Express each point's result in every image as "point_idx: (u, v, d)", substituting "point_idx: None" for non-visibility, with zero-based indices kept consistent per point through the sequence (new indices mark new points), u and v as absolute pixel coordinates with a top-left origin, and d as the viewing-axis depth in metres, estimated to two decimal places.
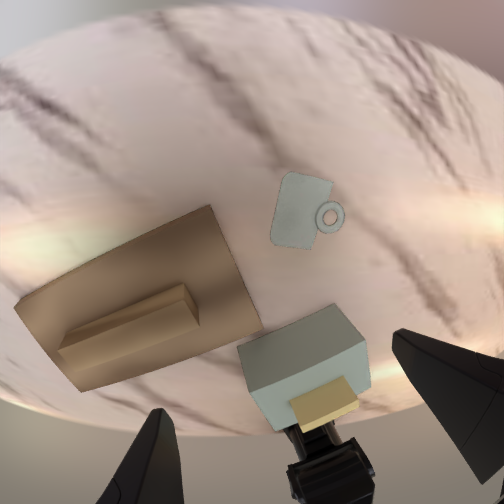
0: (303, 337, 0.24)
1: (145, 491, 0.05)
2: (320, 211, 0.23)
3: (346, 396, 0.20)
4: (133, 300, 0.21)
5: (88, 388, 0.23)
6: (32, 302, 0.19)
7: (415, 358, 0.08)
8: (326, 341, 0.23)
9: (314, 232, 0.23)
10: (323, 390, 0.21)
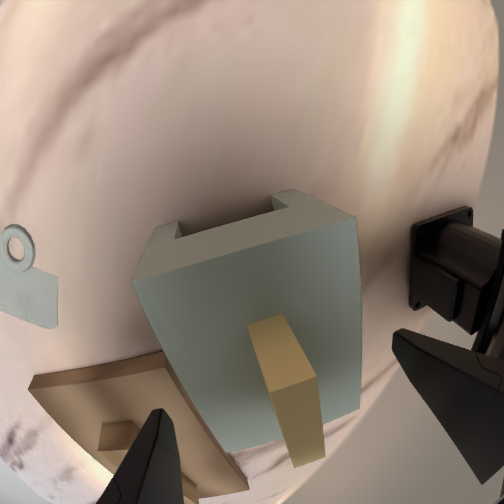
0: None
1: (145, 491, 0.05)
2: (10, 266, 0.12)
3: (267, 385, 0.07)
4: None
5: (243, 486, 0.21)
6: None
7: (415, 358, 0.08)
8: None
9: (36, 272, 0.13)
10: (263, 378, 0.09)
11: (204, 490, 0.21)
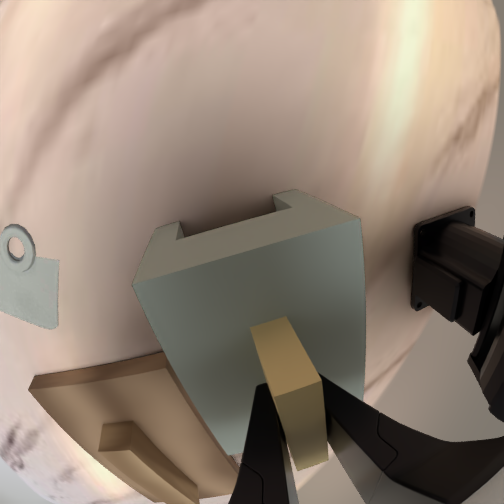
0: None
1: (285, 468, 0.06)
2: (10, 266, 0.12)
3: (270, 390, 0.07)
4: None
5: None
6: (146, 494, 0.20)
7: None
8: None
9: (36, 272, 0.13)
10: None
11: (205, 490, 0.21)
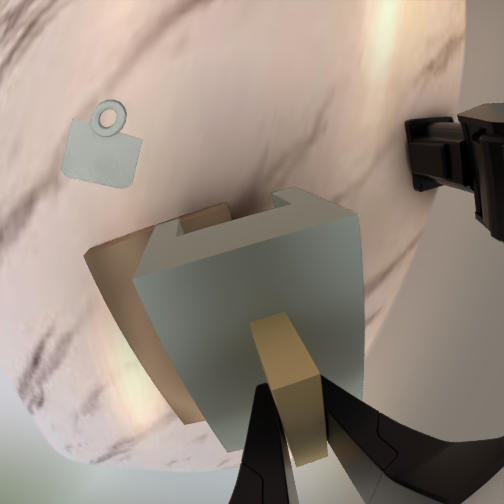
0: None
1: (285, 468, 0.06)
2: (98, 132, 0.17)
3: (269, 384, 0.07)
4: None
5: None
6: (178, 410, 0.25)
7: None
8: None
9: (122, 135, 0.17)
10: (265, 377, 0.09)
11: None
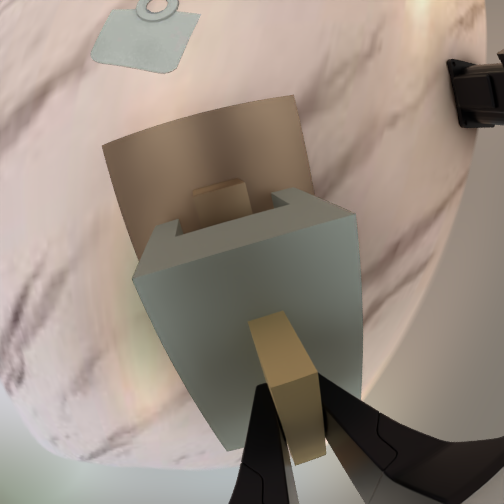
0: None
1: (285, 468, 0.06)
2: (144, 16, 0.12)
3: (268, 382, 0.07)
4: None
5: None
6: None
7: None
8: None
9: (172, 21, 0.13)
10: (264, 375, 0.09)
11: None
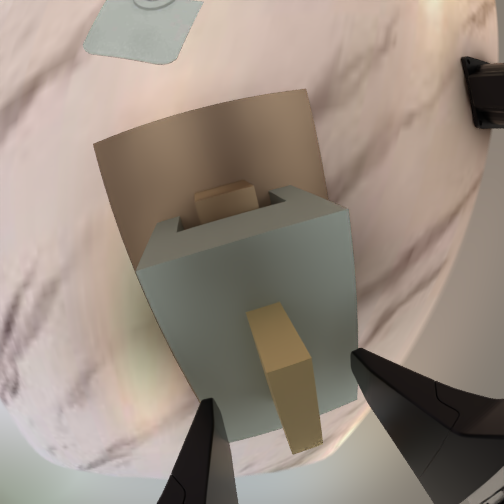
0: None
1: (210, 485, 0.05)
2: (142, 4, 0.10)
3: (264, 369, 0.08)
4: None
5: None
6: None
7: (370, 381, 0.08)
8: None
9: (172, 9, 0.11)
10: (262, 365, 0.10)
11: None
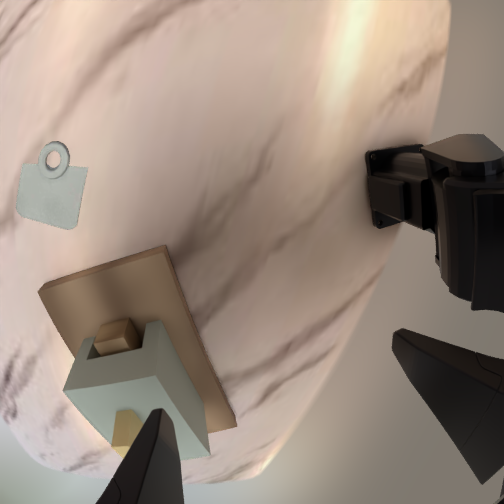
0: None
1: (145, 491, 0.05)
2: (45, 174, 0.16)
3: None
4: None
5: (231, 420, 0.25)
6: None
7: (415, 358, 0.08)
8: None
9: (67, 178, 0.17)
10: None
11: None
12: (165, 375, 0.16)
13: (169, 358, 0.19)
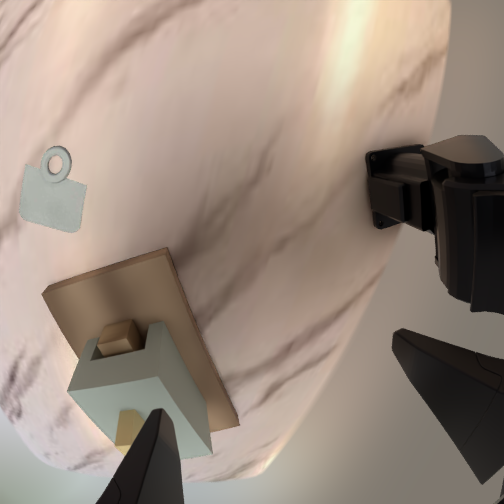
0: None
1: (145, 491, 0.05)
2: (47, 178, 0.16)
3: None
4: None
5: (233, 419, 0.26)
6: None
7: (415, 358, 0.08)
8: None
9: (69, 182, 0.17)
10: None
11: None
12: (167, 375, 0.17)
13: (172, 359, 0.19)
